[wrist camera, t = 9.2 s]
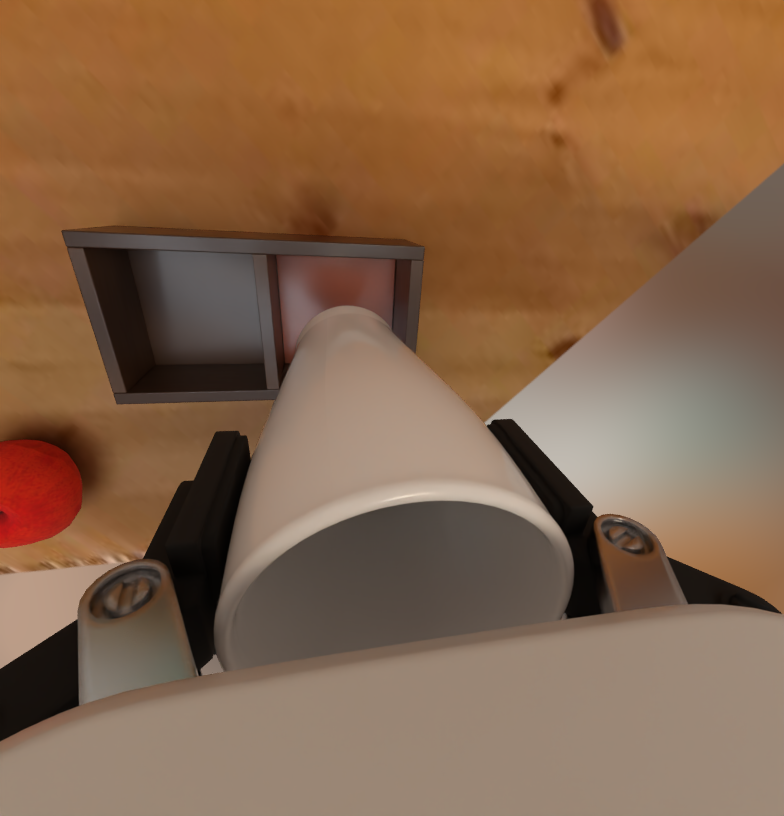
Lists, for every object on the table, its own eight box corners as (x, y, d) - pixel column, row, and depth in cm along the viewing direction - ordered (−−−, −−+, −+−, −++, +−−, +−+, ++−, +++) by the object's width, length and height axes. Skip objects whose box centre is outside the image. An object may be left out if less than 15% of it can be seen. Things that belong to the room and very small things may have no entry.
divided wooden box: (113, 225, 24) (60, 230, 19) (405, 239, 28) (425, 246, 23) (151, 370, 29) (116, 405, 24) (397, 366, 32) (412, 396, 27)
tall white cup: (307, 263, 17) (281, 426, 4) (431, 319, 20) (656, 533, 7) (263, 387, 20) (164, 729, 7) (378, 424, 22) (469, 732, 9)
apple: (120, 492, 33) (74, 560, 27) (20, 505, 32) (-53, 579, 26) (82, 414, 30) (18, 471, 23) (-32, 426, 29) (-134, 489, 22)
